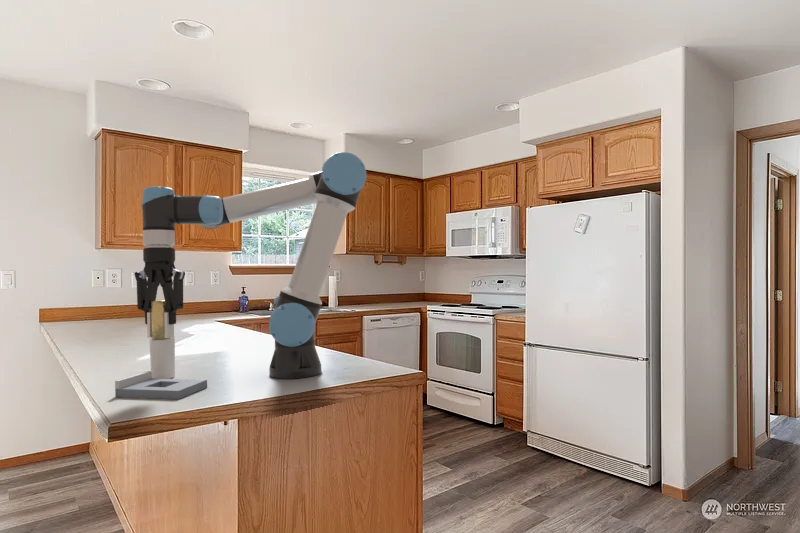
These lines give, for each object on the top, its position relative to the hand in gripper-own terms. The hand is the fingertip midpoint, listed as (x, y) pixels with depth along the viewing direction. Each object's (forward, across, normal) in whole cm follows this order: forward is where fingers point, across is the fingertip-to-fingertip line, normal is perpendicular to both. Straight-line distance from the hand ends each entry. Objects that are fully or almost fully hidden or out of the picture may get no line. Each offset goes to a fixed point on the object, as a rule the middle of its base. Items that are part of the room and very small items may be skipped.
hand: (160, 336), depth 132 cm
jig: (+14, 0, 0) cm, 14 cm away
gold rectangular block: (+1, 0, 0) cm, 1 cm away
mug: (+15, +12, -17) cm, 25 cm away
